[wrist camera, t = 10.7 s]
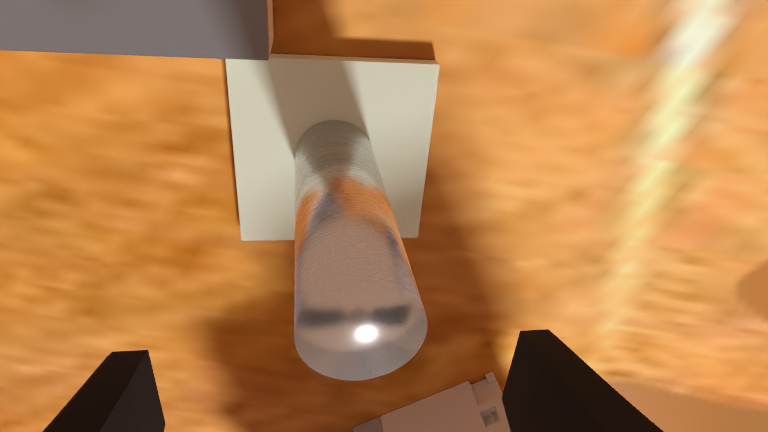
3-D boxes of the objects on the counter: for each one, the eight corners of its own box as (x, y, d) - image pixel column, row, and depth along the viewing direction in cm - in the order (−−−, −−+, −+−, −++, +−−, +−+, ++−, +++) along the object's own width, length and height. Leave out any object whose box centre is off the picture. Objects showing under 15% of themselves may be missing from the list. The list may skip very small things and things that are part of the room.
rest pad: (242, 232, 20) (241, 240, 19) (227, 51, 16) (224, 56, 16) (414, 229, 21) (417, 237, 20) (435, 60, 17) (439, 64, 17)
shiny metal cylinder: (297, 192, 19) (297, 386, 11) (292, 121, 17) (288, 286, 9) (372, 189, 19) (423, 374, 11) (373, 118, 17) (432, 275, 10)
